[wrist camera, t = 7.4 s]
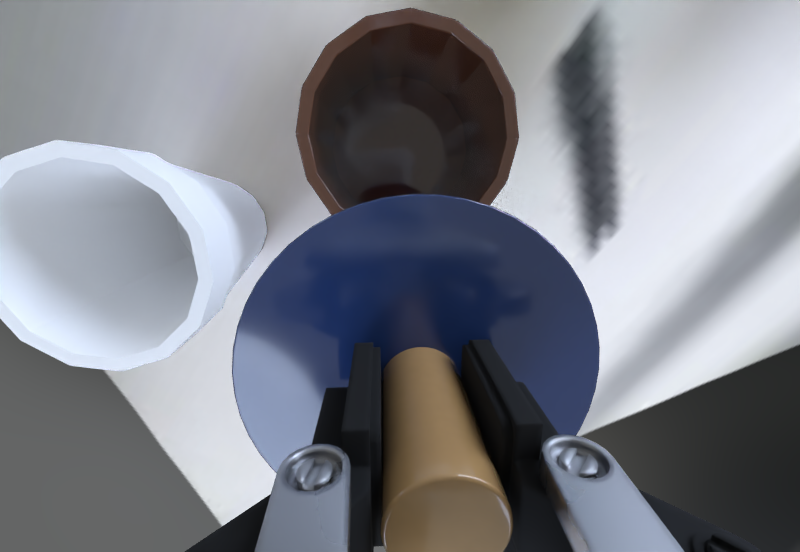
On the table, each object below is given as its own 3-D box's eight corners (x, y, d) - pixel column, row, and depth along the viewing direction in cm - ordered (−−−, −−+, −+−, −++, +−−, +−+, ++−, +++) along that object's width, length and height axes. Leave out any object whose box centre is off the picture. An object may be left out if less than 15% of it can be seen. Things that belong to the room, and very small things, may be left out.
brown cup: (298, 169, 27) (255, 164, 18) (379, 36, 25) (378, -47, 16) (416, 249, 29) (433, 283, 20) (500, 131, 27) (562, 106, 18)
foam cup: (312, 209, 28) (254, 236, 15) (249, 308, 29) (151, 406, 17) (193, 130, 26) (17, 86, 13) (134, 240, 28) (-72, 293, 15)
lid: (182, 408, 13) (7, 615, 7) (368, 111, 10) (352, 29, 5) (450, 544, 15) (497, 791, 9) (650, 319, 13) (887, 449, 7)
